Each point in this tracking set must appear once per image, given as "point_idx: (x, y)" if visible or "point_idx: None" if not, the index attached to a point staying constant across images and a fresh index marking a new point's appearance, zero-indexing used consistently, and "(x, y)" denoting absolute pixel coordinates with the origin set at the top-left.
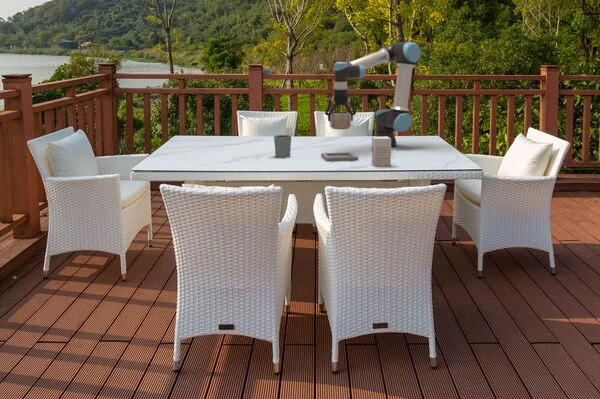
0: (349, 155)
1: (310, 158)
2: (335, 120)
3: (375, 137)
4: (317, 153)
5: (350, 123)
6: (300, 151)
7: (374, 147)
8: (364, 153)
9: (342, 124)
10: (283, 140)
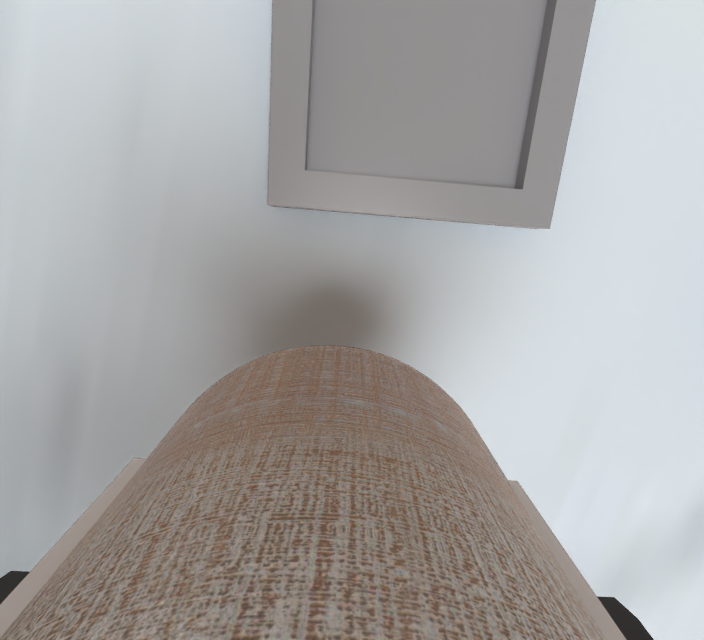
0: (308, 137)
1: (657, 142)
2: (516, 499)
3: None
4: (506, 388)
5: (107, 505)
6: (590, 499)
7: None
8: (139, 310)
9: (329, 372)
10: None
